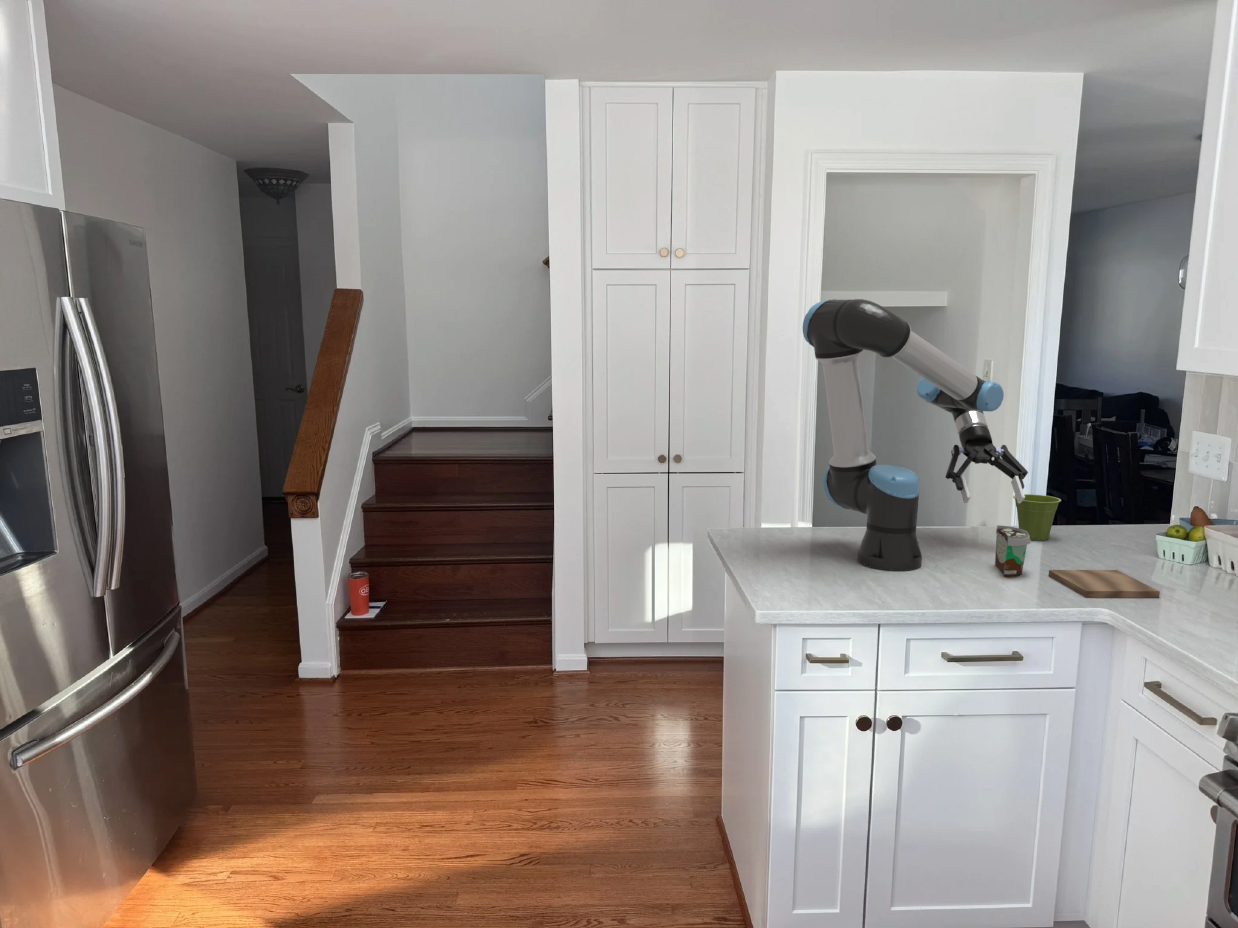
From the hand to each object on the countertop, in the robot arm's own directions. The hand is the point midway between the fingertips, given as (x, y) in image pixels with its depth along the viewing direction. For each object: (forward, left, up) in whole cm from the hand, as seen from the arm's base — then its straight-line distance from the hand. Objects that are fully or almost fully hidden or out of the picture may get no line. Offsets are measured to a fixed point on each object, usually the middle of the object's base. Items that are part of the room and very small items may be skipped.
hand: (994, 500), depth 215 cm
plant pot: (+21, +20, -15) cm, 33 cm away
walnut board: (+15, -24, -15) cm, 32 cm away
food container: (0, -13, -15) cm, 20 cm away
